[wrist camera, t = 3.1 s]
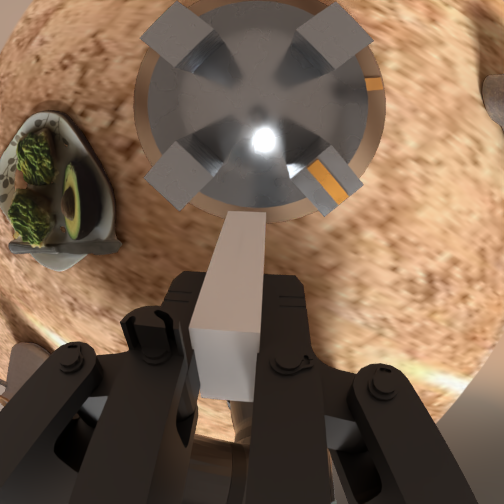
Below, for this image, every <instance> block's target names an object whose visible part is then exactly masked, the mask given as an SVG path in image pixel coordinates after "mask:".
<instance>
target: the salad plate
mask: <svg viewBox="0 0 504 504" xmlns="http://www.w3.org/2000/svg"><path fill="white" fill-rule="evenodd" d="M65 144H66V145H68V146H67V147H66V146H65ZM16 168H17V169H18V170H19V171H21V170H22V172H23V175H24V180H25V181H26V182H27V183H28V186H27V188H26V189H16V191H15V186H14V181H15V172H16ZM51 182H53V183H51ZM0 208H1V209H2V211H3V213H4V214H5V216H6V217H7V219H8V220H9V222H10V224H11V226H12V227H13V228H14V230H15V233H14V234H13V238H14V239H15V240H13V241H11V242H10V243H9V249H10V251H11V252H12V253H14V254H26V253H30V254H31V255H32V256H33V257H34V258H35V259H36V260H37V261H38V262H39V263H40V264H41V265H43V266H45V267H47V268H49V269H52V270H54V271H64V270H66V269H68V268H70V267H72V266H73V265H74V264H76V263H77V262H79V261H80V260H81V259H83V258H84V257H85V256H86V255H88V254H90V253H93V254H94V255H105V254H111V253H115V252H118V250H119V248H120V247H121V246H122V243H121V242H120V241H119V240H118V239H117V237H116V233H115V220H116V204H115V197H114V192H113V189H112V186H111V183H110V180H109V178H108V176H107V174H106V172H105V170H104V168H103V166H102V164H101V162H100V160H99V159H98V157H97V156H96V154H95V153H94V151H93V149H92V147H91V146H90V144H89V142H88V140H87V139H86V137H85V136H84V134H83V133H82V131H81V130H80V129H79V128H78V126H77V125H76V124H75V123H74V122H73V120H72V119H71V118H70V117H69V116H68V115H67V114H65V113H63V112H59V111H42V112H38V113H35V114H33V115H32V116H31V117H29V118H28V119H27V120H26V121H25V122H24V124H23V125H22V126H21V128H20V129H19V131H18V132H17V134H16V135H15V137H14V138H13V140H12V141H11V142H10V144H9V146H8V147H7V149H6V150H5V151H4V153H3V155H2V157H1V158H0ZM61 226H63V227H64V228H65V229H66V232H65V233H64V232H62V231H61V229H60V227H61Z"/></svg>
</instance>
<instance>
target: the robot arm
mask: <svg viewBox="0 0 504 504" xmlns="http://www.w3.org/2000/svg"><path fill="white" fill-rule="evenodd" d="M265 230H266V212H245V211H228V213H227V216H226V218H225V221H224V224H223V227H222V230H221V232H220V235H219V238H218V241H217V244H216V247H215V250H214V253H213V255H212V258H211V261H210V264H209V267H208V270H207V272H191V271H183V272H182V273H181V274H180V275H178V276H177V277H176V278H175V279H174V280H173V281H172V284H171V286H170V288H169V290H168V293H167V294H166V296H165V298H164V301H163V303H162V305H161V306H145V307H141V308H138V309H135V310H133V311H132V312H130V313H128V314H127V315H126V316H125V317H124V318H123V319H122V320H121V321H120V324H121V327H122V330H123V333H124V336H125V338H126V341H127V344H128V347H129V350H128V351H127V352H123V353H117V354H106V355H96V353H95V351H94V349H93V348H92V347H91V346H90V345H88V344H87V343H83V342H69V343H67V344H64V345H62V346H60V347H59V348H58V349H57V350H55V351H54V352H53V353H52V354H51V355H50V356H49V357H48V358H47V359H46V361H45V362H44V363H43V364H42V365H41V366H40V367H39V368H38V369H37V370H36V371H35V372H34V373H33V375H32V376H31V377H30V378H29V379H28V380H27V381H26V382H25V383H24V385H23V386H22V387H21V388H20V389H19V390H18V391H17V392H16V394H15V395H14V396H13V397H12V398H11V399H10V401H9V402H8V403H7V404H6V405H5V406H4V408H3V409H2V410H1V411H0V504H336V500H335V494H334V482H333V472H332V462H331V458H332V460H333V463H334V465H335V468H336V471H337V474H338V476H339V479H340V482H341V484H342V487H343V490H344V492H345V495H346V498H347V500H348V503H349V504H478V502H477V500H476V498H475V496H474V494H473V492H472V490H471V488H470V486H469V484H468V482H467V480H466V478H465V477H464V475H463V473H462V471H461V469H460V467H459V465H458V463H457V462H456V460H455V458H454V456H453V454H452V453H451V451H450V449H449V447H448V445H447V444H446V442H445V440H444V438H443V437H442V435H441V433H440V431H439V430H438V428H437V426H436V424H435V423H434V421H433V419H432V418H431V416H430V414H429V413H428V411H427V409H426V408H425V406H424V404H423V403H422V401H421V399H420V398H419V396H418V394H417V393H416V391H415V390H414V388H413V386H412V385H411V383H410V382H409V380H408V378H407V377H406V376H405V375H404V374H403V373H402V372H401V371H400V370H398V369H396V368H395V367H393V366H391V365H386V364H381V363H379V364H370V365H368V366H366V367H364V368H361V369H360V371H359V372H358V373H357V374H354V373H350V372H346V371H342V370H338V369H335V368H332V367H329V366H328V365H326V364H324V363H323V362H321V361H320V360H319V359H318V358H317V357H316V355H315V354H314V352H313V350H312V347H311V341H310V333H309V325H308V317H307V309H306V301H305V294H304V287H303V284H302V283H301V282H300V281H299V279H298V278H297V277H296V276H295V275H271V274H264V254H265ZM199 390H200V393H201V398H210V399H220V400H227V404H228V407H229V409H230V410H231V418H232V423H233V426H234V430H235V442H234V443H233V442H228V441H224V440H219V439H215V438H211V437H206V436H202V435H198V434H195V430H196V425H197V419H198V406H197V399H198V394H199Z"/></svg>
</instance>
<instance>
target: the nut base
mask: <svg viewBox="0 0 504 504" xmlns="http://www.w3.org/2000/svg"><path fill="white" fill-rule="evenodd" d="M243 1H272V2H278V3H283V4H287V5H291V6H294V7H297V8H299V9H302V10H304V11H306V12H308V13H310V14H312V15H314V16H315V15H317V14H318V13H320V12H321V11H322V10H324V9H325V8H327V7H328V6H327V5H325V4H324V3H322V2H320V1H318V0H200V1H198V2H196V3H194V4H193V5H191V6H189V7H188V9H189V10H190V11H192V12H193V13H194V14H196V15H197V16H198V17H199V16H200V15H202V14H204V13H206V12H208V11H211V10H213V9H215V8H218V7H221V6H224V5H227V4H232V3H237V2H243ZM355 56H356V58H357V60H358V63H359V65H360V67H361V69H362V72H363V75H364V79H365V82H366V87H367V94H368V116H367V123H366V128H365V131H364V135H363V138H362V140H361V143H360V145H359V147H358V149H357V151H356V153H355V155H354V156H353V158H352V160H351V161H350V163H349V164H348V166H349V167H350V168H351V169H352V171H353V172H354V173H355V174H356V176H357V177H358V178H360V177H361V176H362V174H363V173H364V172H365V170H366V169H367V167H368V166H369V164H370V162H371V161H372V159H373V157H374V155H375V153H376V150H377V148H378V146H379V143H380V140H381V136H382V133H383V129H384V122H385V115H386V98H385V90H384V83H383V79H382V76H381V72H380V69H379V66H378V64H377V62H376V59H375V57H374V55H373V53H372V51H371V50H370V48H369V46H368V45H367V46H366V47H365V48H363V49H362V50H361V51H359V52H358V53H357V54H355ZM159 57H160V55H159V54H158V53H157V52H156V51H154V50H153V49H152V48H151V47H149V48H148V50H147V52H146V55H145V57H144V59H143V61H142V63H141V66H140V69H139V72H138V75H137V79H136V84H135V90H134V118H135V125H136V130H137V134H138V138H139V140H140V143H141V146H142V148H143V151H144V153H145V155H146V157H147V158H148V160H149V162H150V164H151V166H152V167H153V166H154V165H155V164H156V162H157V161H158V160H159V159H160V158H161V157H162V154H161V152H160V151H159V149H158V147H157V145H156V142H155V140H154V137H153V135H152V132H151V127H150V123H149V117H148V107H147V105H148V90H149V85H150V80H151V77H152V73H153V70H154V67H155V65H156V63H157V61H158V59H159ZM189 203H190V204H192V205H193V206H195V207H197V208H199V209H201V210H203V211H205V212H207V213H209V214H212V215H215V216H218V217H221V218H224V219H225V218H226V216H227V213H228V211H245V212H266V223H277V222H284V221H289V220H293V219H297V218H301V217H304V216H306V215H309V214H311V213H314V212H316V211H318V209H317V208H316V207H315V206H314V205H313V204H312V203H311V201H310V200H309V199H308V198H304V199H302V200H299V201H297V202H294V203H290V204H286V205H282V206H276V207H269V208H250V207H240V206H235V205H231V204H226V203H223V202H221V201H218V200H215V199H212V198H210V197H208V196H206V195H204V194H202V193H200V192H198V193H197V194H196V195H195V196H194V197H193V198H192V199H191V200H190V201H189Z"/></svg>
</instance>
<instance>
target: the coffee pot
mask: <svg viewBox="0 0 504 504" xmlns="http://www.w3.org/2000/svg"><path fill="white" fill-rule="evenodd" d="M50 355H51V354H50V353H49V352H47V351H46V350H45V349H44V348H42V347H41V346H39V345H37V344H35V343H26V342H25V343H18V344H15V345H14V346H13V347H12V350H11V356H10V361H9V367H8V374H7V381H4V380H1V379H0V384H1V385H3V386H5V387H6V389H5V392H4V393H3V394H2V395H0V403H1V404H2V405H3V406H5V405H6V404H7V403H8V402H9V401H10V399H11V398H12V397H13V396H14V395H15V394H16V392H17V391H18V390H19V389H20V388H21V387H22V386H23V385H24V383H25V382H26V381H27V380H28V379H29V378H30V377H31V376H32V375H33V373H34V372H35V371H36V370H37V369H38V368H39V367H40V366H41V365H42V364H43V363H44V362H45V361H46V359H47V358H48V357H49V356H50Z"/></svg>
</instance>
